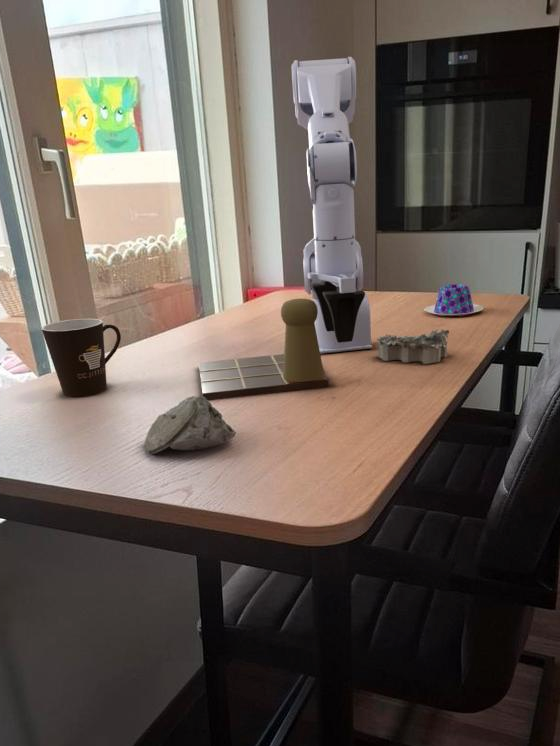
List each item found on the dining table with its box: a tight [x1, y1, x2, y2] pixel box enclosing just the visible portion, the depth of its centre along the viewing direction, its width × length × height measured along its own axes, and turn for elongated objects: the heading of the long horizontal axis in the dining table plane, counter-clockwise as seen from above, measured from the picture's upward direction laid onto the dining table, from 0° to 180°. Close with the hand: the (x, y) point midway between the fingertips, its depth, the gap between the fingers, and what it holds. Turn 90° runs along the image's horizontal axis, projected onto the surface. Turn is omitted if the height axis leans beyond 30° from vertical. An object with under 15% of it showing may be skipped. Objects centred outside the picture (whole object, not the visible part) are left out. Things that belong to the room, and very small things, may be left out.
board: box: [198, 353, 330, 401], centre depth 107 cm, size 18×18×1 cm
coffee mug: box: [40, 318, 122, 398], centre depth 105 cm, size 12×9×10 cm
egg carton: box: [376, 329, 450, 365], centre depth 112 cm, size 11×8×4 cm
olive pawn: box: [280, 298, 325, 382], centre depth 100 cm, size 6×6×11 cm
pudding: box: [424, 283, 485, 317], centre depth 143 cm, size 12×12×5 cm
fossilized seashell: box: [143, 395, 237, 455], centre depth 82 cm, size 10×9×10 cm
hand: (338, 335), depth 103 cm, fingers open, 7 cm apart
